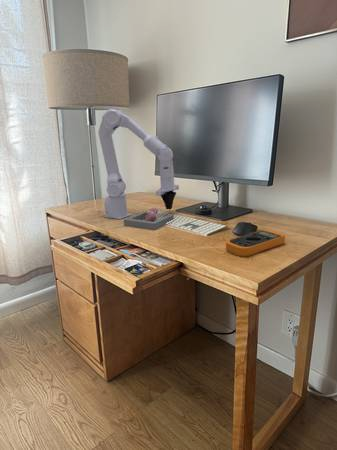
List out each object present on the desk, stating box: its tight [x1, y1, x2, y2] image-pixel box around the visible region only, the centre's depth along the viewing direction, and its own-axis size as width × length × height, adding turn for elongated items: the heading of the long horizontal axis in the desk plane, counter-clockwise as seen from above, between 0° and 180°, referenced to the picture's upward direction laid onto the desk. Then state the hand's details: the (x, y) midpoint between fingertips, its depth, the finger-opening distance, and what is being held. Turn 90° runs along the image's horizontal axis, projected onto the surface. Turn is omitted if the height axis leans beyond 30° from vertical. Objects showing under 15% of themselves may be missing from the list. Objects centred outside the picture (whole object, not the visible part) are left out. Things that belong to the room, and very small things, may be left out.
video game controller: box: [144, 207, 159, 222], centre depth 125 cm, size 10×5×7 cm, turn 176°
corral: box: [123, 211, 175, 231], centre depth 124 cm, size 15×13×2 cm
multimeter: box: [225, 228, 286, 258], centre depth 94 cm, size 9×18×3 cm, turn 122°
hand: (168, 208), depth 135 cm, fingers closed
